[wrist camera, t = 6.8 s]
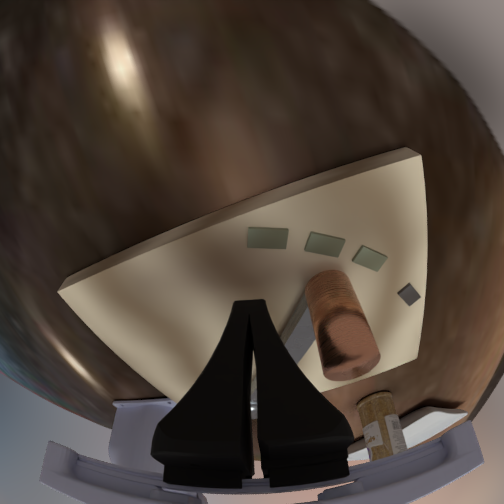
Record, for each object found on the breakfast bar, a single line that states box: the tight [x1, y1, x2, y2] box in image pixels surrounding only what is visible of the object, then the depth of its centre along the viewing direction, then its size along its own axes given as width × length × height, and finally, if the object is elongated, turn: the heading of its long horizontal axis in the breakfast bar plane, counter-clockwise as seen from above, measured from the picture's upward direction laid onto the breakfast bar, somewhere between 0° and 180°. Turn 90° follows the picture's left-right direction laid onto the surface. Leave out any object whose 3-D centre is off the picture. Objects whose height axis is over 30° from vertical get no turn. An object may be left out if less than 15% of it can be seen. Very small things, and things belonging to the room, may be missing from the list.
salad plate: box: [347, 407, 468, 461], centre depth 37 cm, size 21×21×3 cm
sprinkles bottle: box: [357, 392, 408, 462], centre depth 22 cm, size 5×5×13 cm
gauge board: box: [57, 147, 427, 403], centre depth 18 cm, size 22×18×2 cm
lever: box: [251, 270, 381, 419], centre depth 16 cm, size 3×17×5 cm, turn 163°
